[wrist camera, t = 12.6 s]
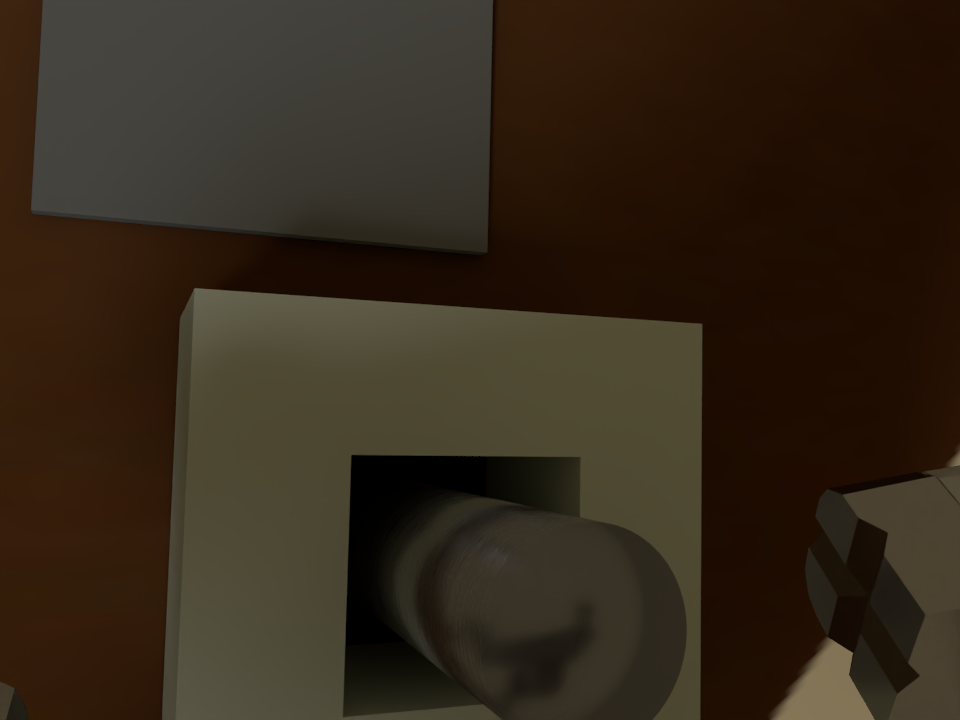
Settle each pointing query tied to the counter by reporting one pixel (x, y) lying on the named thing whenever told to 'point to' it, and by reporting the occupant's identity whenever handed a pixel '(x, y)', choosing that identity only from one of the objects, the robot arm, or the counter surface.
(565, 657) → the steel pin
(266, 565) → the hole block
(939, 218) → the counter surface
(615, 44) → the counter surface
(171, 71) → the mat
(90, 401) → the counter surface
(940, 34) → the counter surface
